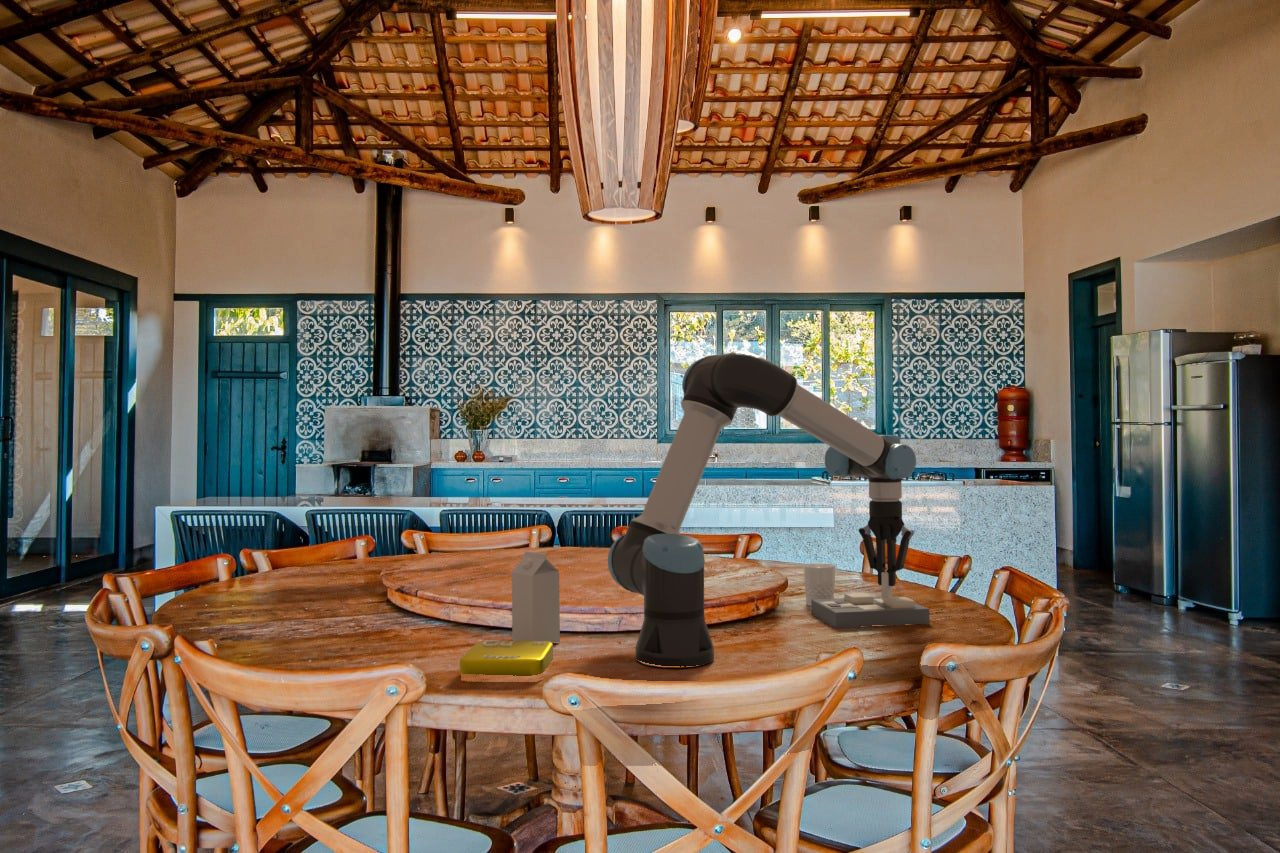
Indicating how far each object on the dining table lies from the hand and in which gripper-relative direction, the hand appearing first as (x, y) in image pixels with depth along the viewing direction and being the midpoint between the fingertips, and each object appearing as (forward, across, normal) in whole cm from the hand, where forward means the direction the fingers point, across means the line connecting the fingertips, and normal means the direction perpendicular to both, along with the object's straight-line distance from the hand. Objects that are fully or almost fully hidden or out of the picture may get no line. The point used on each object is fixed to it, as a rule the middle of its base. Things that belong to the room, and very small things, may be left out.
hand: (887, 599), depth 210 cm
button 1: (+1, +5, +5) cm, 7 cm away
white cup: (+4, +19, -3) cm, 19 cm away
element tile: (+4, +38, +87) cm, 95 cm away
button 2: (+3, 0, +10) cm, 10 cm away
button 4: (+1, -5, +5) cm, 7 cm away
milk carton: (+4, +49, +68) cm, 84 cm away
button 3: (+3, 0, 0) cm, 3 cm away
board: (+4, +2, +7) cm, 8 cm away
